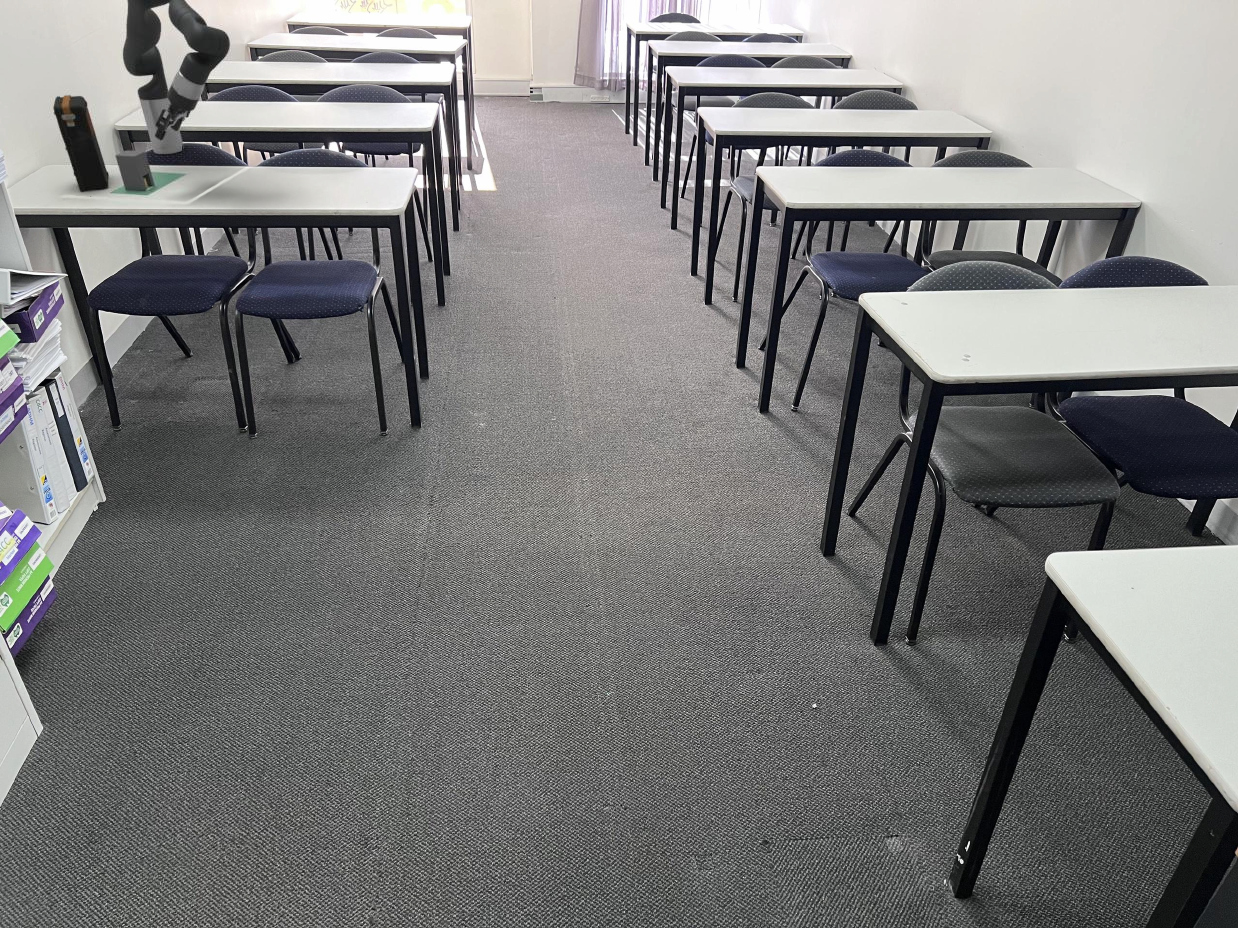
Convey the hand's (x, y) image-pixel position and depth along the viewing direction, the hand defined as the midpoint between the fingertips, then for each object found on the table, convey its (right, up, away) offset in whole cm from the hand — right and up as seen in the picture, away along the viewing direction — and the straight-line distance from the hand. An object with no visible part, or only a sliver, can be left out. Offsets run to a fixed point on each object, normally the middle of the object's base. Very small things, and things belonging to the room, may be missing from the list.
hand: (166, 133), depth 259 cm
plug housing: (-12, -13, +9) cm, 20 cm away
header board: (-12, -11, +13) cm, 21 cm away
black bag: (-28, -12, +12) cm, 33 cm away
